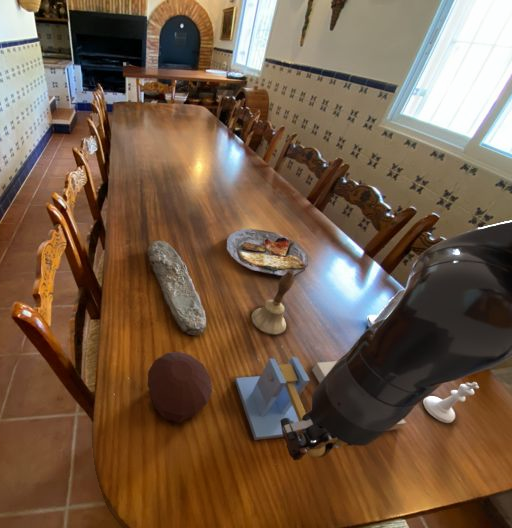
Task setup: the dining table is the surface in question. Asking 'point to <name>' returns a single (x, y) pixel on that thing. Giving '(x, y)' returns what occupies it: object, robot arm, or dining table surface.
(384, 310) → the screw
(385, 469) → the dining table surface
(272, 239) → the food plate
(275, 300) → the hand bell
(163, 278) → the long grey stone
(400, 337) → the robot arm
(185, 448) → the dining table surface
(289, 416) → the lever bracket
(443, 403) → the chess piece
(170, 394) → the brown rounded faceted lump
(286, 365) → the flush lever
